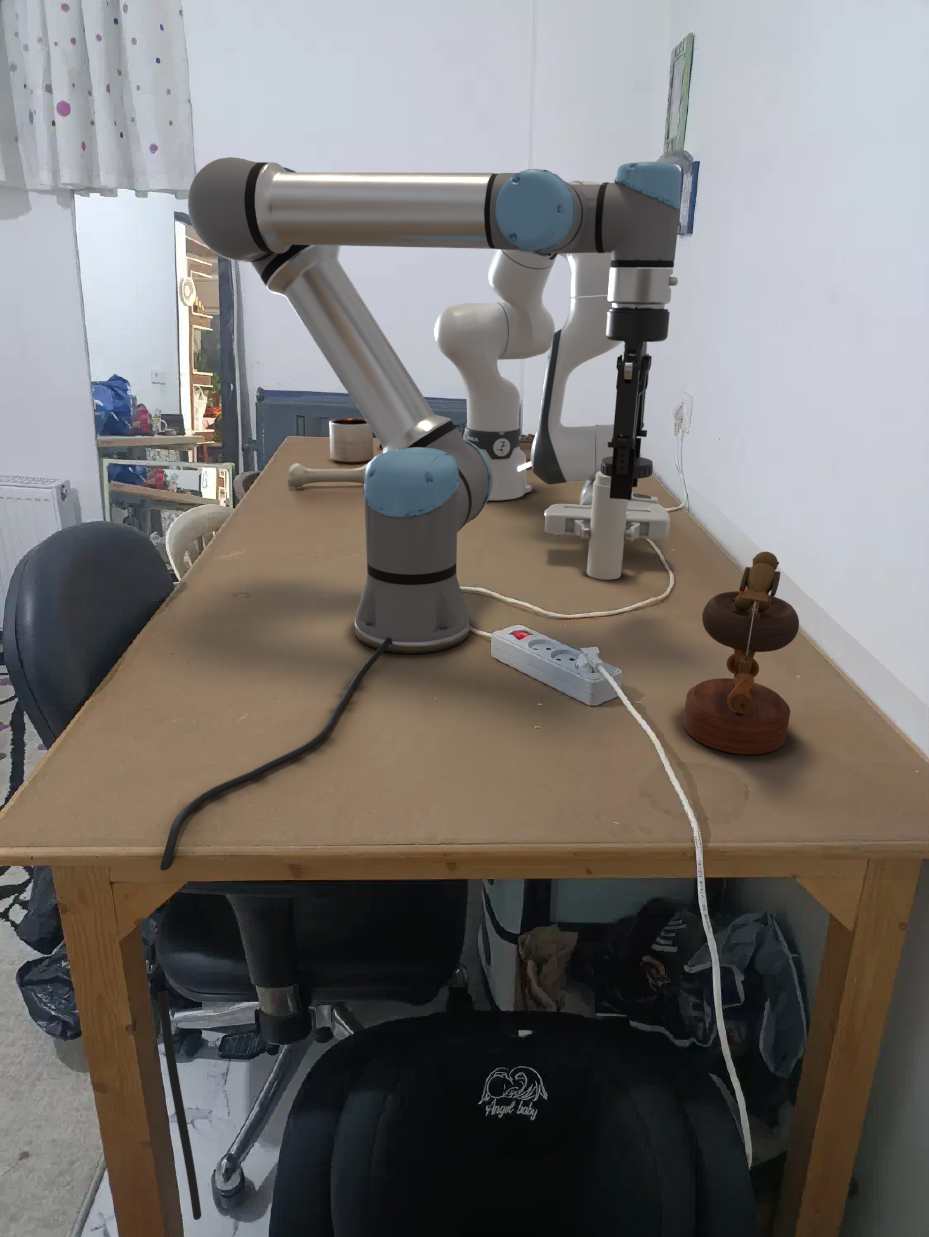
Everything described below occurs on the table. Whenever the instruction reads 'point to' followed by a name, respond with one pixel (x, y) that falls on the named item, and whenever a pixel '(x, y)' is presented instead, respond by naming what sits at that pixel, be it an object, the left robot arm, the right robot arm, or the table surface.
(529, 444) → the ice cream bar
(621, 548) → the jar
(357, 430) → the planter
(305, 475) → the dog toy
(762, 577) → the wooden figure sculpture
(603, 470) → the lid
